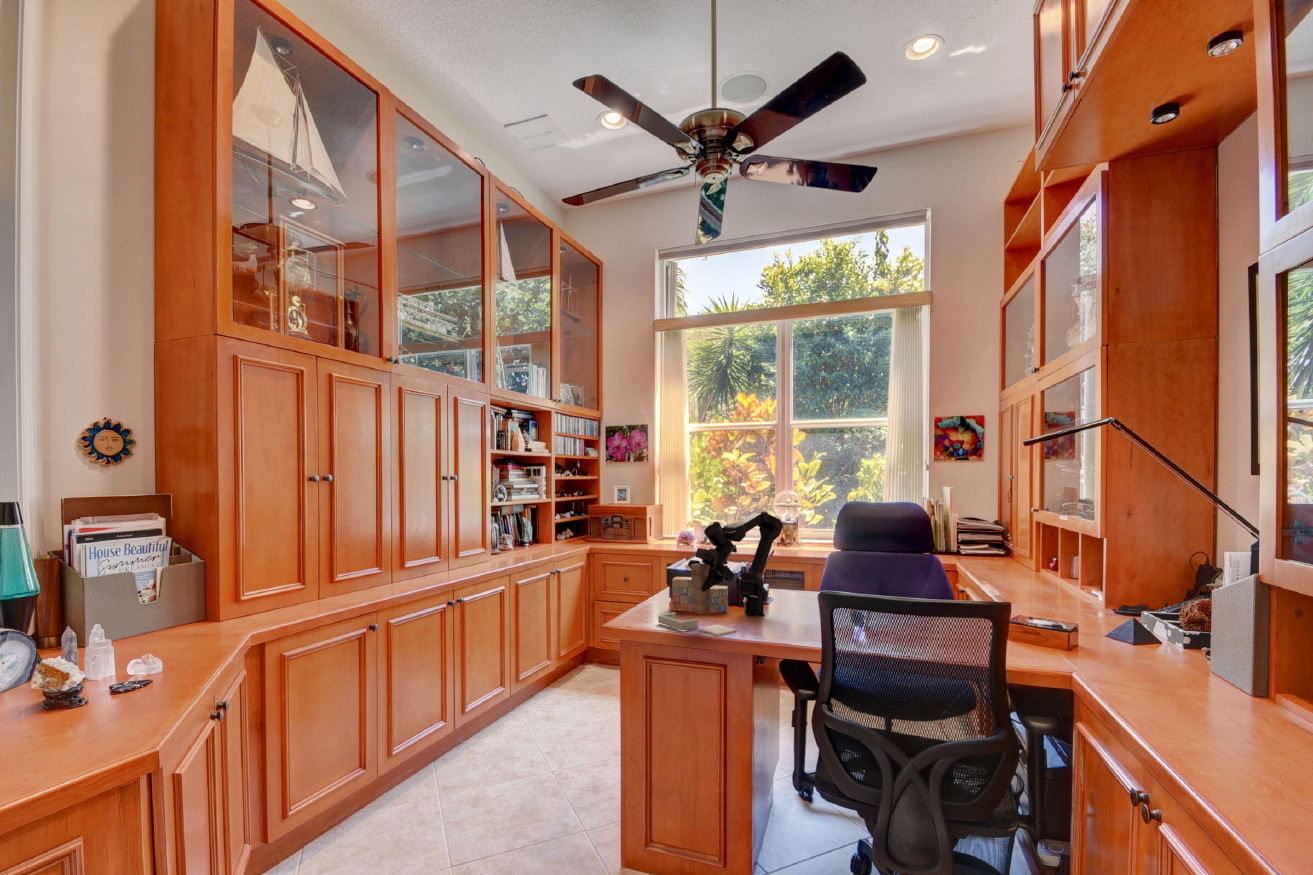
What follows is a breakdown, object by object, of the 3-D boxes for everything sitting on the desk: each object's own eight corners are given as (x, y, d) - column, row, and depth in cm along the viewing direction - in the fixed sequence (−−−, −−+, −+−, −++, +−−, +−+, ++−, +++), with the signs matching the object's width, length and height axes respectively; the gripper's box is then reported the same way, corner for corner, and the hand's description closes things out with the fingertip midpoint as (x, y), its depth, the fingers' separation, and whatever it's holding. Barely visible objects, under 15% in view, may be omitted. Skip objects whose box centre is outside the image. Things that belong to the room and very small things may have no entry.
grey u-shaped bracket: (674, 620, 207) (674, 612, 207) (698, 627, 197) (698, 618, 197) (658, 624, 202) (658, 615, 202) (682, 631, 192) (682, 622, 192)
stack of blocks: (728, 609, 224) (728, 578, 225) (726, 613, 218) (726, 580, 219) (675, 607, 229) (675, 576, 230) (672, 610, 223) (671, 578, 224)
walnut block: (701, 609, 199) (700, 563, 200) (710, 611, 196) (709, 564, 197) (691, 611, 197) (691, 564, 198) (700, 613, 193) (699, 566, 194)
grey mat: (717, 626, 199) (717, 624, 199) (736, 631, 192) (736, 629, 192) (698, 630, 193) (698, 628, 193) (717, 636, 186) (717, 634, 186)
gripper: (691, 537, 208) (667, 571, 200) (727, 541, 193) (703, 578, 185) (707, 557, 212) (685, 591, 205) (743, 562, 197) (721, 599, 190)
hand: (697, 589), depth 196 cm, fingers closed on walnut block, 4 cm apart
